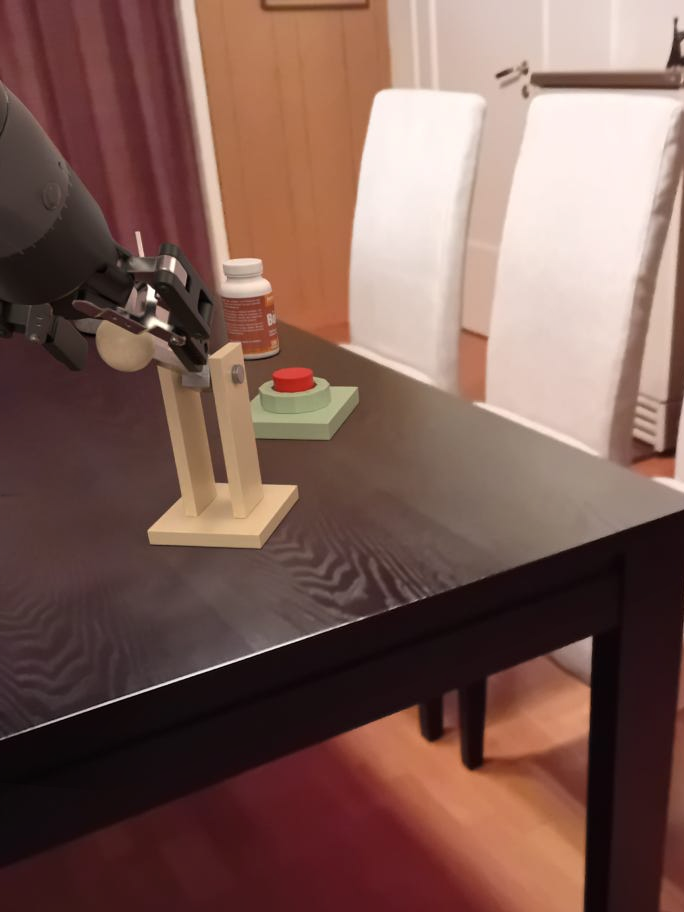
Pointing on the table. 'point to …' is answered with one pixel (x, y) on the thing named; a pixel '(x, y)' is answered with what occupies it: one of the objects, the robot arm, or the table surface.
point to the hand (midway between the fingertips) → (139, 359)
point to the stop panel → (302, 411)
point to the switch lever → (145, 355)
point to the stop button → (293, 380)
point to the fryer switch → (203, 501)
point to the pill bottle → (249, 308)
